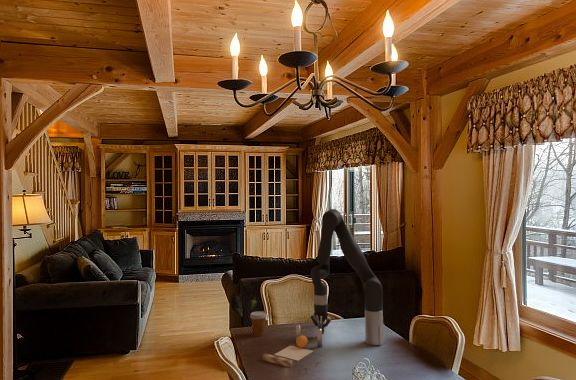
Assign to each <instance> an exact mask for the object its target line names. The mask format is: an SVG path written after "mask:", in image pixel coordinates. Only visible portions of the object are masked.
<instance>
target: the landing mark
mask: <svg viewBox="0 0 576 380" xmlns="http://www.w3.org/2000/svg"><path fill="white" fill-rule="evenodd" d="M313 352H314V350H311V349H307V348H300V347H299V346H296V345H295V346H294V345H289V346H287V347H285V348H283V349H282V350H280V351H278V352H276V353H274V354H273V355H274V356H278V357H282V358H286V359H290V360H293V361H297V362H299V361H301V360H302V359H303V358H305V357H307V356H309V355H310V354H311V353H313Z"/></svg>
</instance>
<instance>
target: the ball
mask: <svg viewBox="0 0 576 380" xmlns="http://www.w3.org/2000/svg"><path fill="white" fill-rule="evenodd" d="M308 339H309V338H308V337H307V336H305V335H303V334H301V336H299V337H298V338H297V340H296V339H295V342H296V345H297V347H299V348H303V349H305V348H306V347H307V346H308V344H309V340H308Z"/></svg>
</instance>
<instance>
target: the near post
mask: <svg viewBox="0 0 576 380" xmlns="http://www.w3.org/2000/svg"><path fill="white" fill-rule="evenodd" d="M316 344H317V345H316V347H317V348H318V349H320V348H321V349H322V348H323V334H322V329H321V328H316Z"/></svg>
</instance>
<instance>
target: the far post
mask: <svg viewBox="0 0 576 380" xmlns="http://www.w3.org/2000/svg"><path fill="white" fill-rule="evenodd" d="M301 326H302V325H301V324H300V323H297V324H295V341H296V340H297V338H298V337H299V336H301V335H302V331H301Z"/></svg>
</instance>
